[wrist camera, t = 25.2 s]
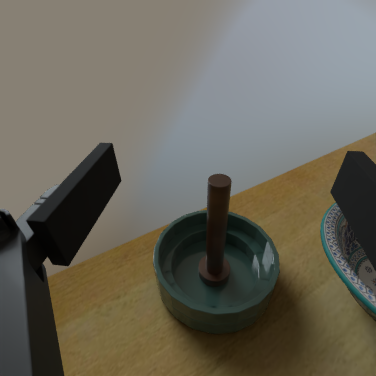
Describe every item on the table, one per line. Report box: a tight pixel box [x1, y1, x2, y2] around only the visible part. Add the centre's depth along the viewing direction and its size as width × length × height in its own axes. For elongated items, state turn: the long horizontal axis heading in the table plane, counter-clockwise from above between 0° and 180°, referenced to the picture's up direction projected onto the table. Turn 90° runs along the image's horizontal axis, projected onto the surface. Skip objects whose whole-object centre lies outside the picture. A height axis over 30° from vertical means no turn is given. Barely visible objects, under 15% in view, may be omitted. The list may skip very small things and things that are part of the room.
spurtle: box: [198, 174, 231, 287], centre depth 31 cm, size 5×5×18 cm
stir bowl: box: [153, 210, 280, 334], centre depth 35 cm, size 17×17×6 cm
